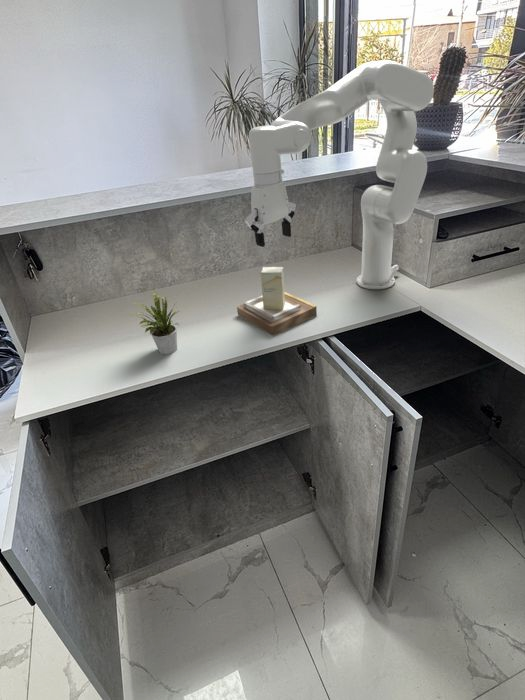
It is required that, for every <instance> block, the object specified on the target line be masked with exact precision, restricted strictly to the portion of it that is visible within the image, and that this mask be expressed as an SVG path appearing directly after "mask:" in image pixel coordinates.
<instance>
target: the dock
mask: <svg viewBox="0 0 525 700" xmlns="http://www.w3.org/2000/svg"><path fill="white" fill-rule="evenodd" d="M284 295H285V305H284V308H283V310H267V309H264V307H263V295H260V296H258V297H254V298H252V299H250V300H247V301H244V302H243V303H242V304H240V305H238V306H236V310H237V311H236V312H237V316H239V317H240V318H242V319H243V320H245V321H247V322H248V323H250V324H252V325H254V326H256V327H257V328H259V329H261V330H262V331H264V332H266V333H267V334H269V335H271V336H273V337H274V336H275V335H277V334H280V333H282V332H284V331H286V330H289V329H291V328H293V327H295V326H297V325H300V324H302V323H303V322H305V321H307V320H311V319H312V318H314V317H316V316H318V315H317V314H318V313H317V309H318V308H317V305H315V304H312V303H311V302H308V301H306V300H304V299H302V298H301V297H298V296H296V295H293V294H291V293H289V292H287V291H285V290H284Z"/></svg>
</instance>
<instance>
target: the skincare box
mask: <svg viewBox="0 0 525 700" xmlns="http://www.w3.org/2000/svg"><path fill="white" fill-rule="evenodd" d="M260 278H261V279H260V280H261V281H260V282H261V293H262V295H263V307H264V309H267V310H283V308H284V305H285V295H284V291H285V279H284V278H285V277H284V267H283V266H262V269H261V270H260ZM262 295H261V296H262Z"/></svg>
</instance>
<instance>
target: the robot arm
mask: <svg viewBox="0 0 525 700" xmlns="http://www.w3.org/2000/svg"><path fill="white" fill-rule="evenodd" d="M434 92H435V86H434V82H433V80H432V79H431V77H430V76H429V75H427V74H426V73H424V72H422V71H419V70H417V69H415V68H411V67H409V66H407V65H404V64H402V63H399V62H397V61H394V60H393V61H392V60H388V59H386V60H385V59H384V60H375V61H367V62H364V63H362V64H360V65H358V66H357V67H356V68H354V69H353V70H352V71H350V72H348V73H347V74H346V75H344V76H343V77H342V78H340V79H339V80H338V81H336V82H335V83H333V84H332V85H331V86H329V87H328V88H326V89H325V90H323V91H321V92H319V93H317V94H315V95H313V96H312V97H310V98H307V99H306V100H303V101H302V102H300V103H298V104H296V105H294V106H293V107H291V108H289V109H288V110H287V111H285V112H284V113H283V114H281V115H280V116H279V117H277V118H276V119H274V120H273V121H272V122H271V124H270V125H261V126H255V127H252V128H250V130H249V133H248V139H249V148H250V156H251V157H250V158H251V166H252V175H253V176H252V177H253V183H254V185H252V186H251V192H250V196H251V197H250V204H251V206H250V207H251V212H250V213H249V214H248V215H247V217H246V218H245V219H244V221H245V224H246V226H248V228H249V230H251V231H252V232H253V233H254V239H255V244H256V245H257V246H259V247H261V248H263V247H265V245H266V242H265V233H264V232H263V229H264V228H265V226H266V225H269V224H272V223H275V222H278V221H280V220H282V221H281V230H282V231H281V232H282V236H284V237H288V238H291V237H292V227H291V223H292V222H293V218H294V216H295V211H296V207H297V204H296V203H294V202H291V201H289V199H288V198H289V197H288V193H287V187H286V184H285V181H284V180H283V176H284V174H285V171H284V169H282V161H281V156H282V155H296V154H301V153H303V152H304V151H306V150H307V149H308V147H309V146H310V144H311V141H312V132H311V131H312V130H315V129H318V128H322V127H328V126H331V125H334V124H337V123H340V122H341V121H344V120H346V118H347V117H349V116H350V115H351V114H353V113H354V112H355V111H357V110H358V109H360V108H361V107H363V106H364V105H366V104H367V103H368V102H370V101H371V100H378V101H379V103H380V106H381V107H382V110H383V112H384V114H385V116H386V117H385V118H386V124H387V125H386V131H385V135H384V139H383V141H382V145H381V148H380V152H379V155H378V158H377V162H376V165H375V173H376V176H377V177H378V178H379V179H381V180H383V181H384V182H385V181H386V182H389V183H394V184H393V187H392V186H386V185H382V184H375V185H370V186H369V187H367V188H366V189H365V190H364V191H363V194H362V195H361V198H360V199H361V200H360V210H361V211H360V212H361V215H362V246H361V247H362V248H361V250H362V251H361V274H359V276H357V277H356V283H357V285H358V286H360V287H361V288H363V289H368V290H384V289H388V288H390V287H393V286H394V284H395V281H396V279H395V276H393V273H394V272H396V271H399V269H400V266H399V265H398V264H394V265H392V259H393V257H392V256H393V245H394V244H393V243H394V225H401V224H404V223H405V222H407V221H408V220H409V218H411V216H412V215H413V212H414V209H415V208H416V206H417V202H418V200H419V197H420V194H421V191H422V188H423V185H424V183H425V181H426V180H425V179H426V176H427V172H428V161H427V160H428V159H427V157H426V155H425V154H424V153H423V152H421V151H420V150H417V149H413V146H414V143H415V139H416V135H417V130H418V123H417V118H416V113H415V112H419V111H422V110H424V109H425V108H427V107H428V106H429V105H430V103H431V102H432V100H433V97H434V95H435V94H434Z"/></svg>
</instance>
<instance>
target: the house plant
mask: <svg viewBox="0 0 525 700" xmlns="http://www.w3.org/2000/svg"><path fill="white" fill-rule="evenodd" d="M160 296H161V298H160ZM153 302H154V306H153V305H150V308H151V310H150V309H149V307H147V306H146V305H144V304H141V303H137V302H133V304H135V305H138V306H140V307H142V309H144V310H145V311H146V312H148V313H147V314H148V315H147V314H146V313H145V312H143V316H145V317H142V316H139V315H140V314H142V312H135V313H132V314H131V316H133V315H136V317H138V318H140V319H142V320H141V321H140V322H139V325H140V327H141V329H143V328H145V331H144V333H147V332H148V331H149V335H150V336H152V337H151V338H152V340H153V341H154V343H155V346H156V348H157V349H158V352H159V353H160V354H162V355H170V354H173V353H174V352H176V351H177V350H178V336H177V335H178V334H177V333H178V332H177V331H178V330H177V327H176V325H177V326H180V325H179V322H176V323H174V324H172V323H173V320H171V319H172V318H173V317H174V316H175V315H176V314H177V313H178V312H181V311H180V310H176V309H177V307H175V305H176V304H177V302H175V303H174V305H173V307H172V308H171V310H170V311H169V313H168V299H167V297H166V296H165V298H164V296H163V295H161V294H159V295H158V296H157V294H156V292H155V291H153ZM161 307H162V309H161ZM174 307H175V308H174ZM174 310H176V311H174ZM173 311H174V312H173ZM172 312H173V313H172ZM150 317H151V318H150ZM152 318H153V319H154V320H155V321H154V320H153V319H152ZM141 324H142V325H141Z"/></svg>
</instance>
